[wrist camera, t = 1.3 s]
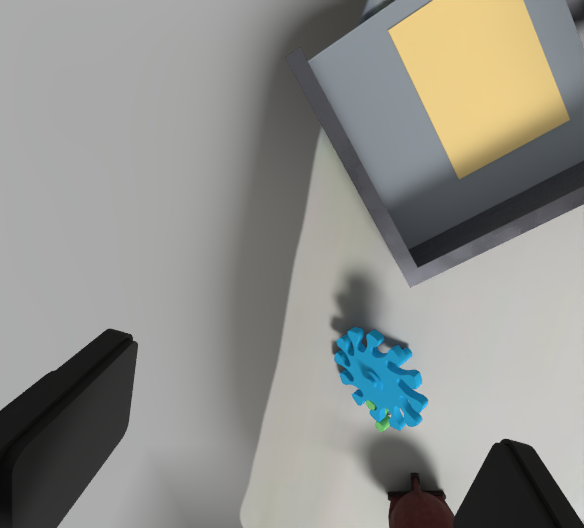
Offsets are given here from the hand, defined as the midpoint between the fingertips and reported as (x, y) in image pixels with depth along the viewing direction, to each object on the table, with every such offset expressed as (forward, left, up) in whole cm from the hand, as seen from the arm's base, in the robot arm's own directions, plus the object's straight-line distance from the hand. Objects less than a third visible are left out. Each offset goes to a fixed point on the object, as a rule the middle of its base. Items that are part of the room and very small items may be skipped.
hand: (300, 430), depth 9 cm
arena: (-14, -3, -26) cm, 30 cm away
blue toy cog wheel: (+3, +15, -26) cm, 30 cm away
